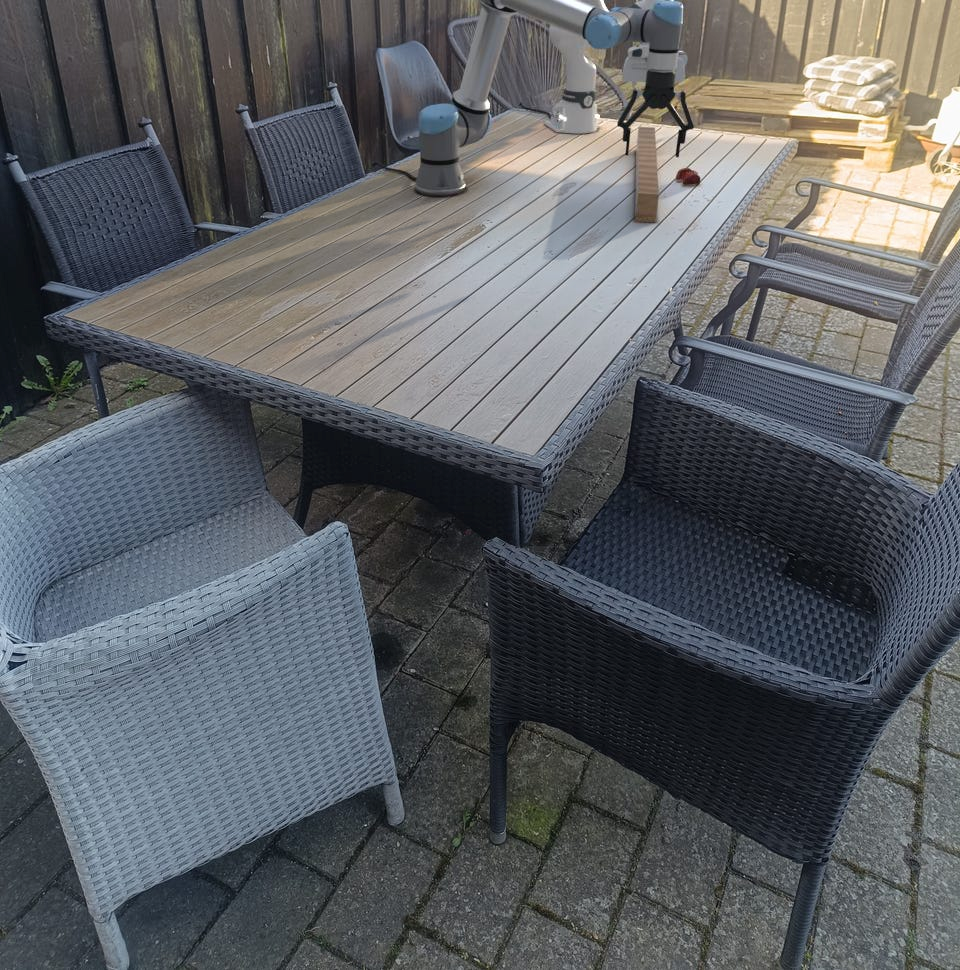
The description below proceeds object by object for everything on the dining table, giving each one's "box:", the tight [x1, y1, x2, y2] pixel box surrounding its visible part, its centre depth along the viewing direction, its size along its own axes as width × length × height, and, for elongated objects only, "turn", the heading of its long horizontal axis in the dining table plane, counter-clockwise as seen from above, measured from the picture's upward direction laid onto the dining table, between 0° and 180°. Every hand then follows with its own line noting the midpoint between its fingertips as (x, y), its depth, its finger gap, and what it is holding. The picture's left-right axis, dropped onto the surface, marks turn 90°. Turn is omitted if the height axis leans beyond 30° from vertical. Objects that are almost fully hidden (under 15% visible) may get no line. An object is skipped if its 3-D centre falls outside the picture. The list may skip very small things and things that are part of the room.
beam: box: [634, 126, 660, 223], centre depth 263 cm, size 78×6×8 cm, turn 171°
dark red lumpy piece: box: [675, 167, 701, 186], centre depth 263 cm, size 6×4×8 cm
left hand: (651, 155), depth 231 cm, fingers open, 13 cm apart
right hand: (650, 96), depth 279 cm, fingers open, 8 cm apart
